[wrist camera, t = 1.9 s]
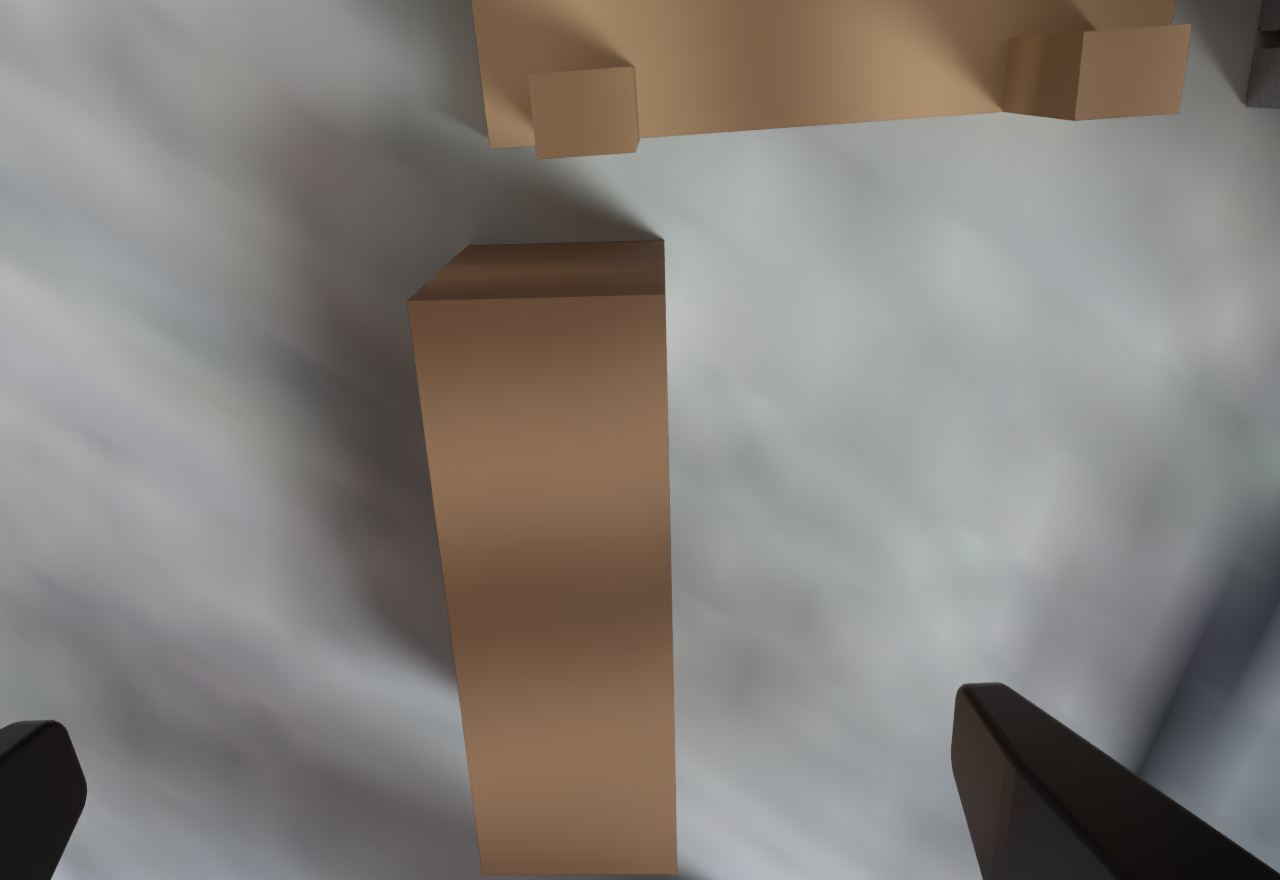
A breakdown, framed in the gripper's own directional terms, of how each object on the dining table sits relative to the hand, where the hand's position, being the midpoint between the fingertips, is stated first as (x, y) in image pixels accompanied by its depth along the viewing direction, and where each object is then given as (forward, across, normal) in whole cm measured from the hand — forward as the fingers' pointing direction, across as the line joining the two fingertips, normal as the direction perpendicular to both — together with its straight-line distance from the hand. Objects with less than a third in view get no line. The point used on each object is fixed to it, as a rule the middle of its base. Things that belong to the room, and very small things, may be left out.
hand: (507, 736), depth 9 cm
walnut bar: (+12, 0, +3) cm, 12 cm away
